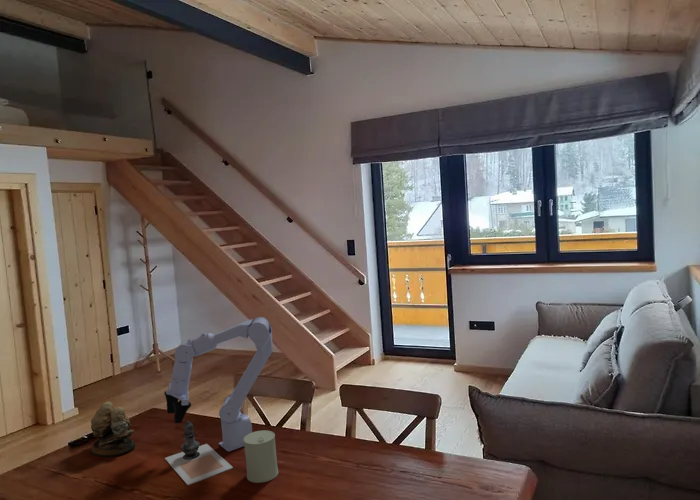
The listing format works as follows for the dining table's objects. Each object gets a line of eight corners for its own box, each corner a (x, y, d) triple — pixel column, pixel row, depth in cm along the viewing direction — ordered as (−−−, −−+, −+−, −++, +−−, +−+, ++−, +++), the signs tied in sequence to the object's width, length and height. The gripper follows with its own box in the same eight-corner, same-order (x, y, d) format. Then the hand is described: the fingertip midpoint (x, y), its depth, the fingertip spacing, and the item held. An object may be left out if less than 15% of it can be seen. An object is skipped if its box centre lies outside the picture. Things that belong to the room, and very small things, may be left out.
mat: (206, 444, 175) (206, 443, 175) (233, 468, 157) (232, 467, 157) (164, 458, 167) (164, 457, 167) (187, 485, 149) (187, 484, 149)
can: (252, 486, 146) (248, 445, 145) (243, 472, 154) (239, 434, 153) (282, 476, 150) (279, 436, 149) (272, 463, 158) (269, 425, 157)
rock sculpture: (146, 444, 179) (141, 396, 178) (119, 460, 168) (113, 410, 167) (109, 438, 186) (103, 392, 185) (80, 453, 176) (74, 405, 174)
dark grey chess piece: (195, 460, 163) (191, 423, 162) (178, 460, 165) (174, 423, 164) (204, 451, 169) (200, 416, 168) (187, 451, 170) (183, 416, 169)
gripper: (162, 370, 174) (155, 409, 175) (175, 386, 162) (168, 428, 163) (182, 370, 178) (176, 408, 179) (197, 385, 166) (190, 426, 167)
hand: (174, 417), depth 171 cm, fingers open, 7 cm apart
